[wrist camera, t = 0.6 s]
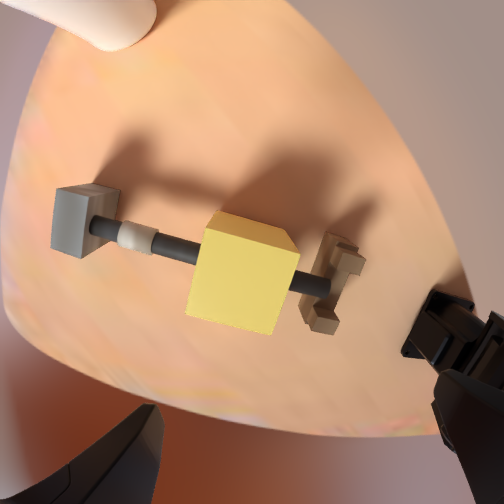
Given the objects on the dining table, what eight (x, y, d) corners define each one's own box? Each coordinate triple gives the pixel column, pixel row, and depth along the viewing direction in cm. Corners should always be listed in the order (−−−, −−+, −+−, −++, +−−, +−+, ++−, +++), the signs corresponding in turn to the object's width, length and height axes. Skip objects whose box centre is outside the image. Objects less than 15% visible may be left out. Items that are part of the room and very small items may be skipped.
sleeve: (284, 229, 18) (300, 254, 13) (263, 291, 19) (270, 335, 14) (216, 210, 18) (205, 227, 13) (200, 274, 19) (184, 313, 14)
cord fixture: (344, 238, 19) (370, 256, 15) (317, 310, 20) (333, 342, 16) (94, 169, 17) (59, 171, 13) (82, 244, 19) (49, 263, 14)
